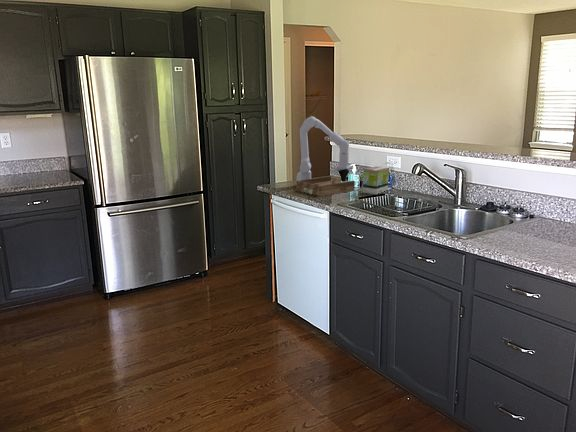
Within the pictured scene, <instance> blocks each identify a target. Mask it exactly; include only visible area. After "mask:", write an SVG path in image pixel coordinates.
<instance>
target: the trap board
mask: <svg viewBox="0 0 576 432" xmlns="http://www.w3.org/2000/svg"><path fill="white" fill-rule="evenodd" d="M355 184H356V182H355V180H349V181H345V182H342V181H341V183H336V184H332V175H329V176H327V175H326V176H322V177H321V176H320V177H315V178H311V179H307V180H300V181H297V180H296V185H297V186H296V191H297V192H301V193H304V192H305V194H308V193H309V195H312V194H313V195H312V196H316V195H317V197H320V196H321V197H324V196H325V195H326V196H331V194H332V195H336V194H341V193H348V192H353V191H355Z"/></svg>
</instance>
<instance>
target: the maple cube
mask: <svg viewBox="0 0 576 432" xmlns="http://www.w3.org/2000/svg"><path fill="white" fill-rule="evenodd" d="M331 181H332V184H336V183H342V181H341V177H339V176H333V177H332V176H331Z"/></svg>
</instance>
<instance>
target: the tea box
mask: <svg viewBox="0 0 576 432" xmlns="http://www.w3.org/2000/svg"><path fill="white" fill-rule="evenodd" d="M362 178H363V179H362V193H363V194H370V195H378V193H379V194H382V193H385V192H387V191H386V190H389V183H388V180H389V178H390V167H387V166H377V165H376V166H375V165H374V166H371V167H370V166H369V167H367V168H363V177H362ZM389 181H390V180H389ZM384 191H385V192H384ZM381 192H382V193H381Z"/></svg>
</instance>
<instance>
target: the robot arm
mask: <svg viewBox="0 0 576 432" xmlns="http://www.w3.org/2000/svg"><path fill="white" fill-rule="evenodd" d="M313 127H314V128H315V129H320V130H321V131H323V132H324V133H325V134H326V135H327V136H328V137H329V140H330V141H331V142H332V143H334V144H335V145H336V146H338V149H339V156H338V157H339V160H338V162H339V163H338V166H337V167H333V171H334V172H338V173H339V176H340V178H341V183H342V182H346V181H347V177H348V175H349V173H350V170H353V169H354V166H353V165H349V154H350V153H349V151H350V149H349V146H350V143H349V141H348V140H346V139H345V138H343V137H342V136H341V135H340V133H339V132H336V131H334V132H333V131H332V130H331V129H330V128H329V127H328V126H327V125H326V124H324V122H322V121H321V120H320V119H317V118H316V117H315V116H312V115H311V116H309V117H307V118H306V119H305V120H304V121H303V123H302V124H301V127H300V128H299V140H300V141H299V142H300V165H299V172H297V174H296V182H297V181H300V180H307V179H312V171H311V168H312V163H311V161H310V156H309V155H310V151H309V139H308V132H309V131H310V130H311V129H312V128H313ZM295 186H296V187H297V184H295Z"/></svg>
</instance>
